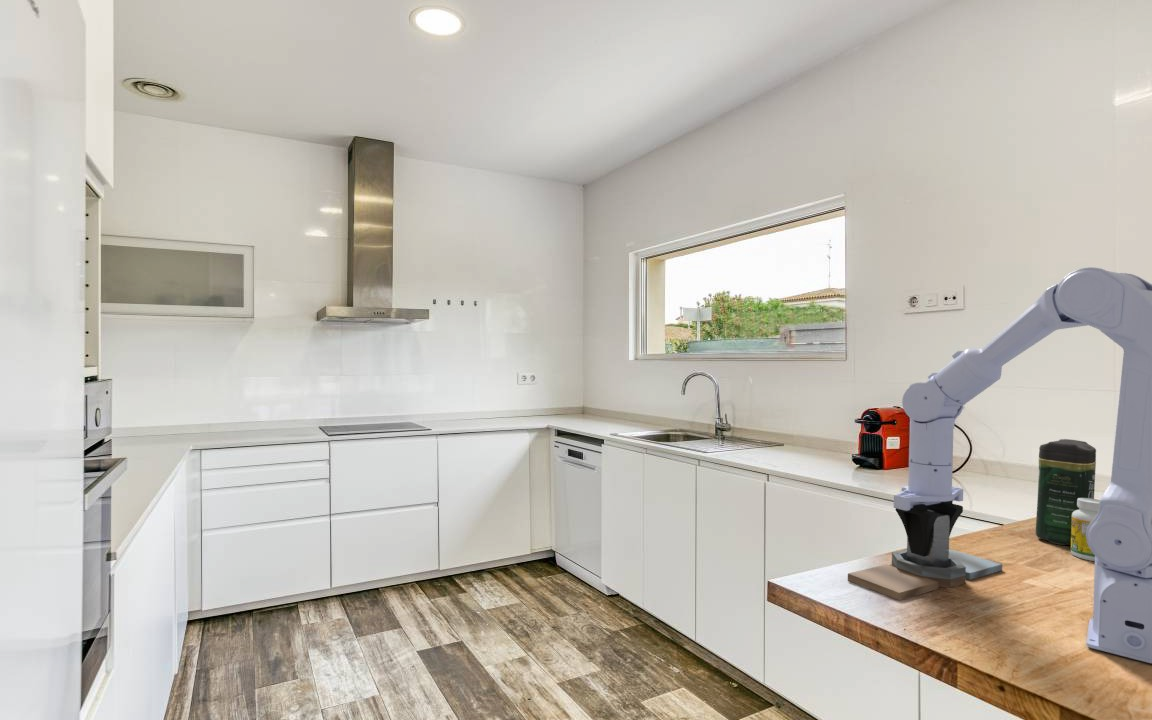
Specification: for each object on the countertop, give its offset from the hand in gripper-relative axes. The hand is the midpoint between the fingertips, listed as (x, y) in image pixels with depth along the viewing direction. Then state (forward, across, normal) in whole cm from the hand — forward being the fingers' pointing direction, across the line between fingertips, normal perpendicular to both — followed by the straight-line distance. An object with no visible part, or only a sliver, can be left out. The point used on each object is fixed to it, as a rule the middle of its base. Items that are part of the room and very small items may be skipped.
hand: (927, 552), depth 93 cm
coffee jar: (+4, -41, 0) cm, 42 cm away
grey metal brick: (+2, 0, 0) cm, 2 cm away
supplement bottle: (+4, -34, +7) cm, 35 cm away
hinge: (+3, 0, 0) cm, 3 cm away
